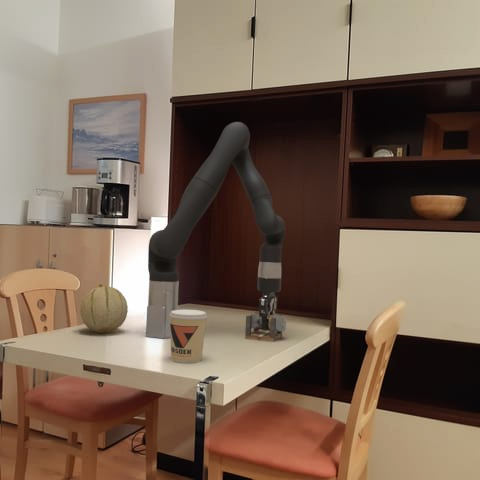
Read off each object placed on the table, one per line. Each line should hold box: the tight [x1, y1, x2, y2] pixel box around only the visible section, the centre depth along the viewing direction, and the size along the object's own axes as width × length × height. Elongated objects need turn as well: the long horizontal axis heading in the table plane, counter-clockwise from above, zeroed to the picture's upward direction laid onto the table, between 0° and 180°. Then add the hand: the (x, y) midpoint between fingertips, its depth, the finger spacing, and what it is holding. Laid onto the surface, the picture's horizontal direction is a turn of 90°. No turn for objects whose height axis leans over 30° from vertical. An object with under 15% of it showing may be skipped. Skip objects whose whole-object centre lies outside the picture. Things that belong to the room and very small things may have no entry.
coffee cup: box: [170, 309, 208, 364], centre depth 124 cm, size 9×9×12 cm
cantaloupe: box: [79, 283, 129, 334], centre depth 154 cm, size 15×15×15 cm
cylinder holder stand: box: [244, 311, 284, 343], centre depth 157 cm, size 10×9×7 cm
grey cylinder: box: [249, 312, 287, 333], centre depth 157 cm, size 11×5×5 cm, turn 71°
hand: (267, 328), depth 157 cm, fingers closed on grey cylinder, 5 cm apart
